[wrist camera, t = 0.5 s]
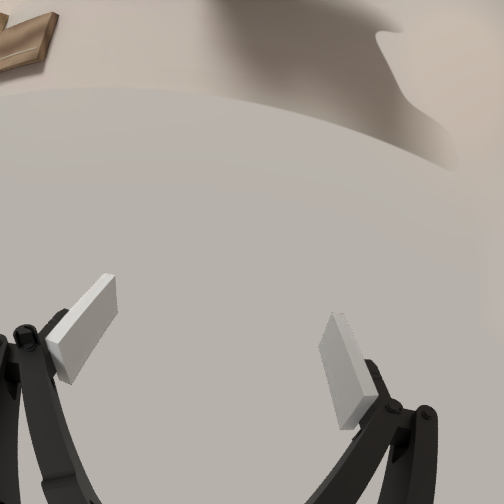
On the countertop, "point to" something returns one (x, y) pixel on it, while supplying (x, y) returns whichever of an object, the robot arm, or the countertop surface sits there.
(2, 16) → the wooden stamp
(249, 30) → the countertop surface
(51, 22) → the plank
